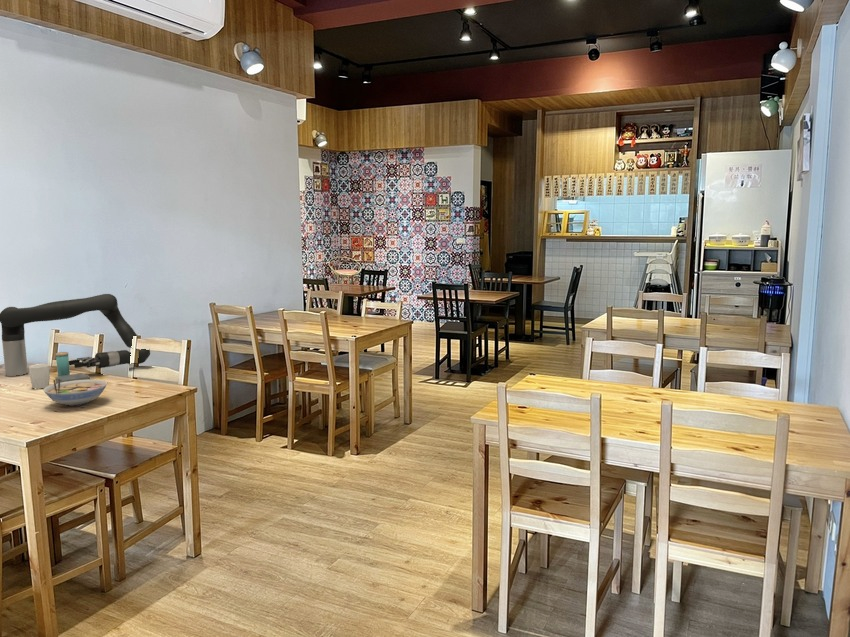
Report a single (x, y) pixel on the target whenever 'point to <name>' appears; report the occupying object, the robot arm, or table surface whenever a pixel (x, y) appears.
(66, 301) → the robot arm
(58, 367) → the tea canister
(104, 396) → the table surface
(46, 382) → the white cup
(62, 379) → the slate plinth
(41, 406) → the table surface
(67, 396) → the ramen bowl
